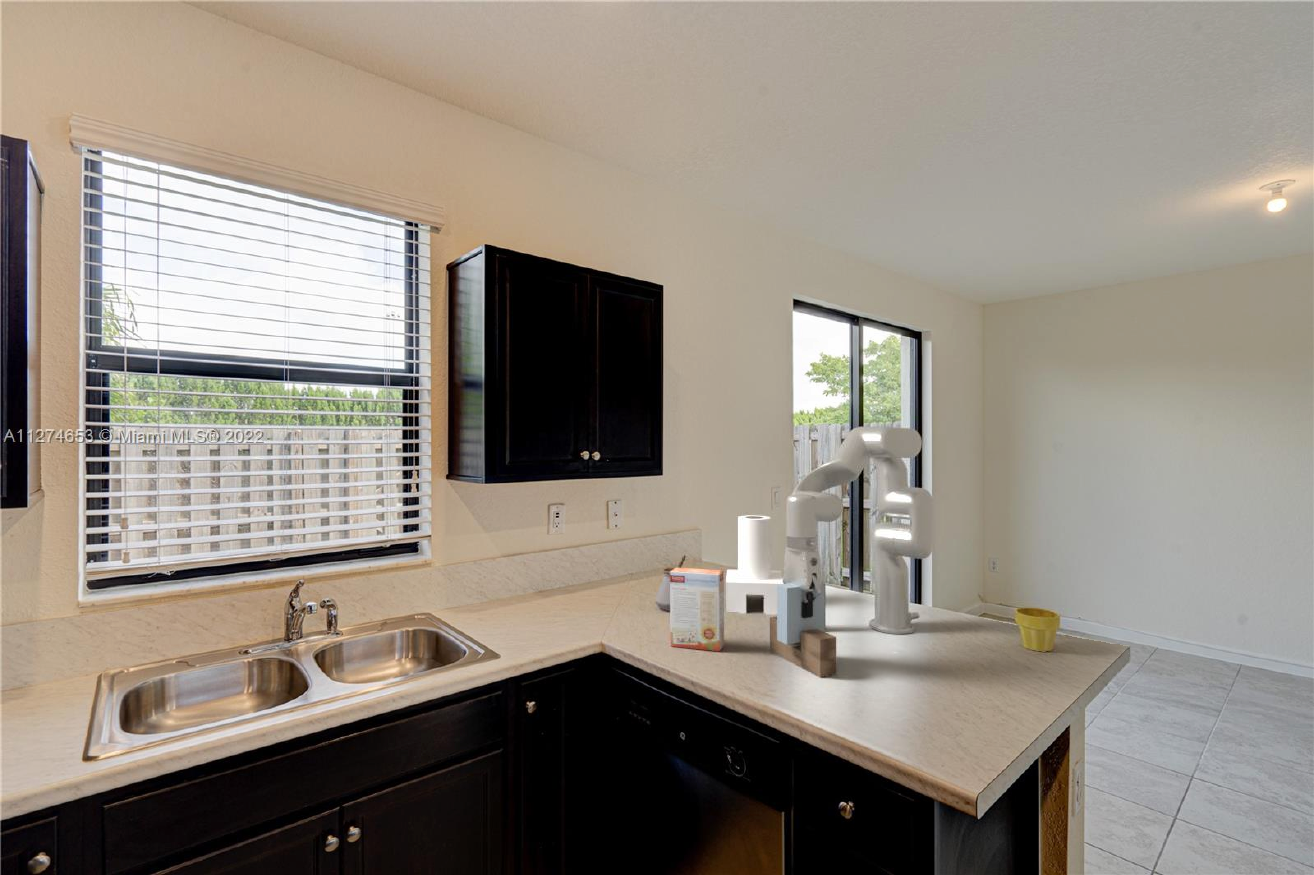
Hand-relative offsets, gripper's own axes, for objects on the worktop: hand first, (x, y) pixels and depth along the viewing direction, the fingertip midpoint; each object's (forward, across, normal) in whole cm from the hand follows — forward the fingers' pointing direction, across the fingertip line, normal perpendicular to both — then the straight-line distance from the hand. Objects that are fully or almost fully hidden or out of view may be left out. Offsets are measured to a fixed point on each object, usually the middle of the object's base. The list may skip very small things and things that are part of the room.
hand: (801, 614), depth 157 cm
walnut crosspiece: (+12, 0, 0) cm, 12 cm away
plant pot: (+12, -20, -64) cm, 68 cm away
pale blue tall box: (+6, 0, 0) cm, 6 cm away
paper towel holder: (+12, +48, -19) cm, 53 cm away
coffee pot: (+12, +61, +4) cm, 62 cm away
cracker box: (+12, +22, +18) cm, 31 cm away
